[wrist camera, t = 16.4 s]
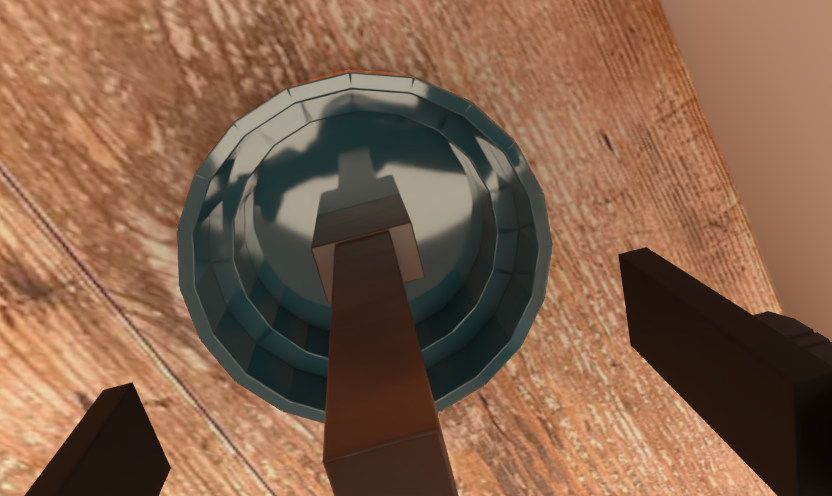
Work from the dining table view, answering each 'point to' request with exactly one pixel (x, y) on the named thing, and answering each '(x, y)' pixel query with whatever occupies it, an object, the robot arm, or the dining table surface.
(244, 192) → the bowl
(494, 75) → the dining table surface
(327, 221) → the stirring stick
